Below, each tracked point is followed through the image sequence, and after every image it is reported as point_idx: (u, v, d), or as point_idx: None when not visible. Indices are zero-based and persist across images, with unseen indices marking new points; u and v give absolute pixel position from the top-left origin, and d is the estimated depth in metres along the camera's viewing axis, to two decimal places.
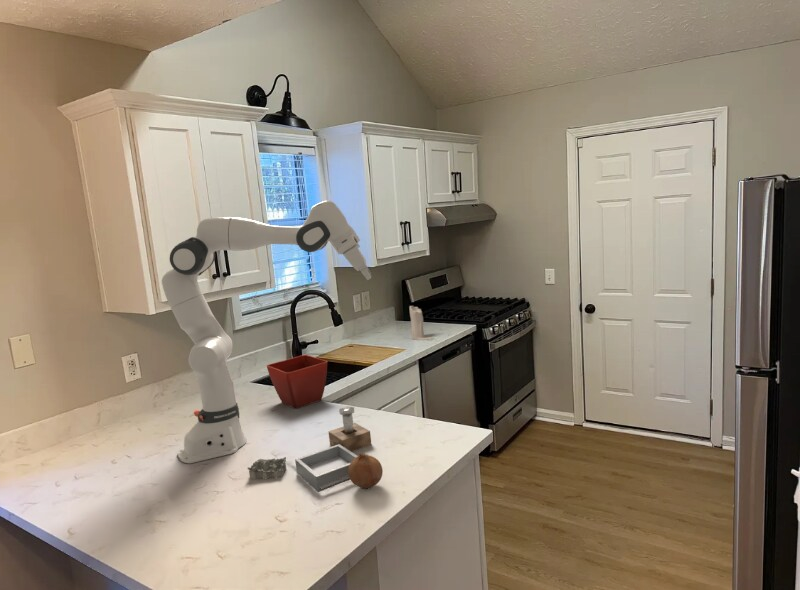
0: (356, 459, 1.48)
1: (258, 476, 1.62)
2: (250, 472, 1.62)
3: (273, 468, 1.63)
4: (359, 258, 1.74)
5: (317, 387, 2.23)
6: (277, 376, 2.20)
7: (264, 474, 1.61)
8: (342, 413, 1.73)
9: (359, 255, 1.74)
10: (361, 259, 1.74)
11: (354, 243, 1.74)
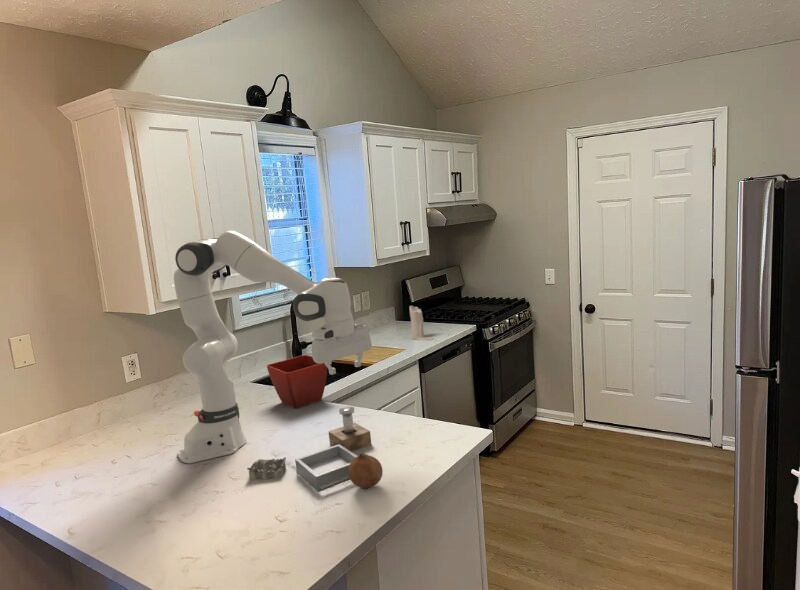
0: (356, 459, 1.48)
1: (258, 476, 1.62)
2: (250, 472, 1.62)
3: (273, 468, 1.63)
4: (316, 354, 1.66)
5: (317, 387, 2.23)
6: (277, 376, 2.20)
7: (264, 474, 1.61)
8: (342, 413, 1.73)
9: (317, 351, 1.65)
10: (317, 356, 1.65)
11: (320, 338, 1.65)
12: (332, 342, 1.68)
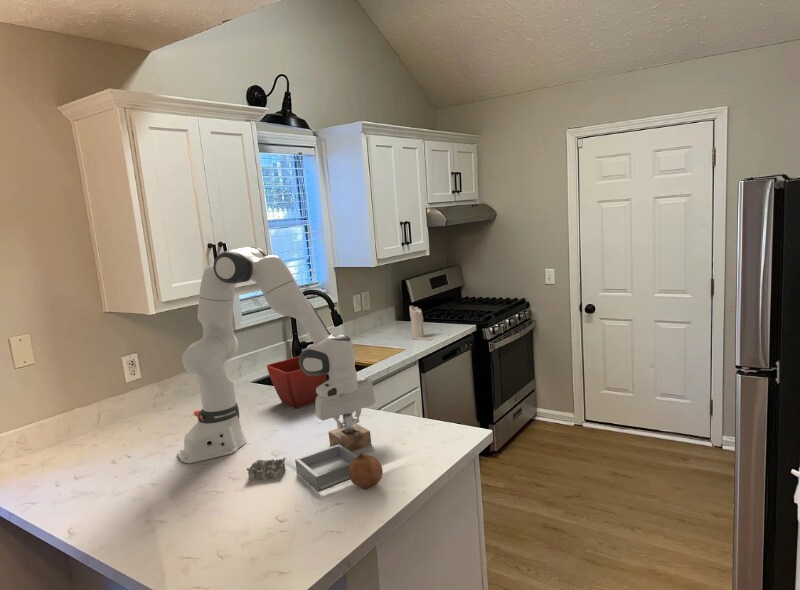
0: (356, 459, 1.48)
1: (257, 477, 1.62)
2: (249, 473, 1.61)
3: (272, 469, 1.63)
4: (319, 411, 1.68)
5: None
6: (277, 376, 2.20)
7: (263, 475, 1.60)
8: None
9: (320, 409, 1.68)
10: (320, 413, 1.68)
11: (323, 396, 1.67)
12: (335, 399, 1.70)
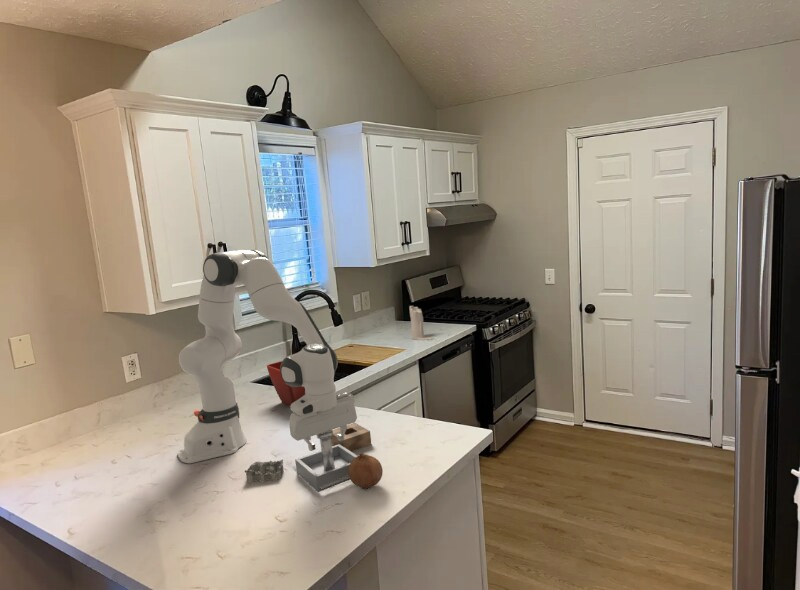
0: (356, 459, 1.48)
1: (255, 479, 1.60)
2: (247, 475, 1.60)
3: (270, 470, 1.62)
4: (293, 430, 1.52)
5: None
6: (277, 376, 2.20)
7: (261, 477, 1.59)
8: (319, 437, 1.57)
9: (294, 428, 1.51)
10: (294, 432, 1.51)
11: (298, 413, 1.51)
12: (312, 417, 1.54)
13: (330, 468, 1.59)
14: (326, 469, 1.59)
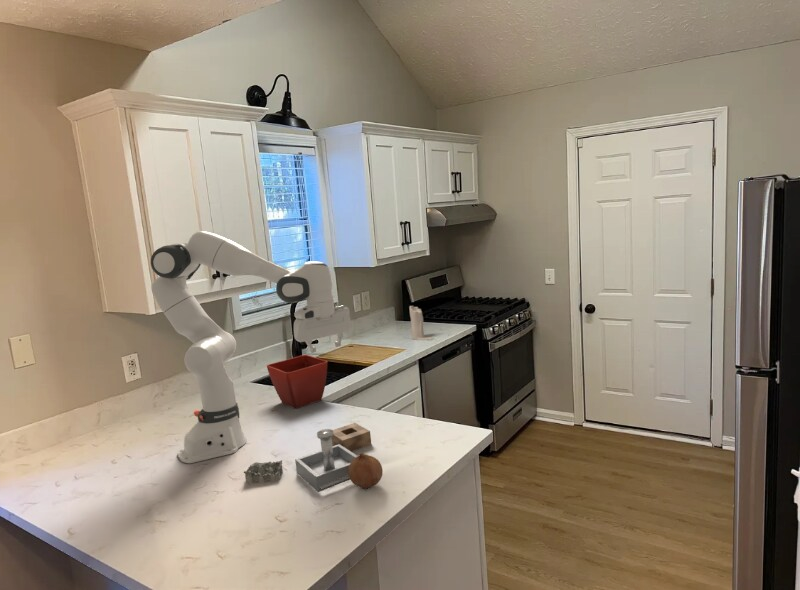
0: (356, 459, 1.48)
1: (254, 480, 1.60)
2: (246, 476, 1.60)
3: (270, 471, 1.61)
4: (297, 332, 1.76)
5: (317, 387, 2.23)
6: (277, 376, 2.20)
7: (261, 478, 1.59)
8: (320, 437, 1.57)
9: (298, 330, 1.75)
10: (297, 334, 1.76)
11: (301, 318, 1.75)
12: (313, 322, 1.78)
13: (330, 468, 1.59)
14: (326, 469, 1.59)
